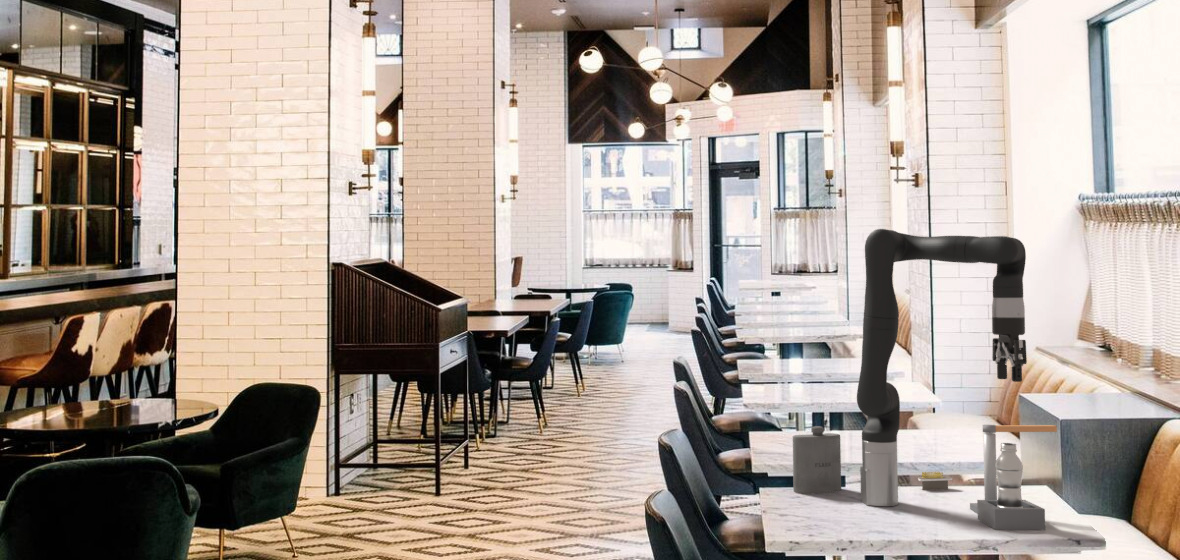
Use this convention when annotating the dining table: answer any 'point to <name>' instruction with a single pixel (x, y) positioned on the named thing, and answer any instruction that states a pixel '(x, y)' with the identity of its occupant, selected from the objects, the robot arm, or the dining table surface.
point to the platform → (934, 481)
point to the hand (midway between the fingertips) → (1009, 380)
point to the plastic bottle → (1009, 477)
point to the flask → (816, 462)
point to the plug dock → (987, 509)
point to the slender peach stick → (1019, 428)
